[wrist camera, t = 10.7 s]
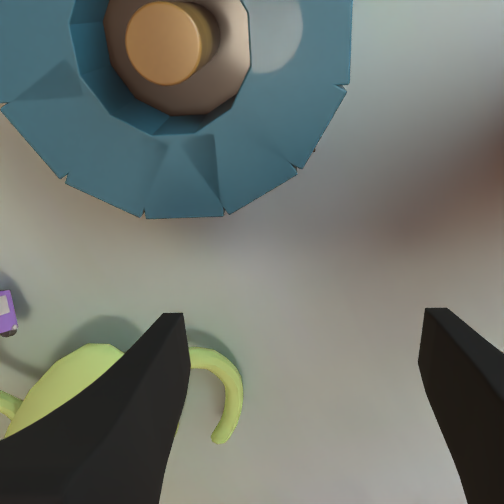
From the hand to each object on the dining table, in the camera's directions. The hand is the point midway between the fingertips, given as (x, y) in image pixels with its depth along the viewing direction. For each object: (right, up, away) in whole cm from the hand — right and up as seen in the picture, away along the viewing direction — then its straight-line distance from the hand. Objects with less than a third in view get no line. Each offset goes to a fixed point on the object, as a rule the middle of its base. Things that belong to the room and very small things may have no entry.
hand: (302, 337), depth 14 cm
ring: (-4, +11, +5) cm, 13 cm away
